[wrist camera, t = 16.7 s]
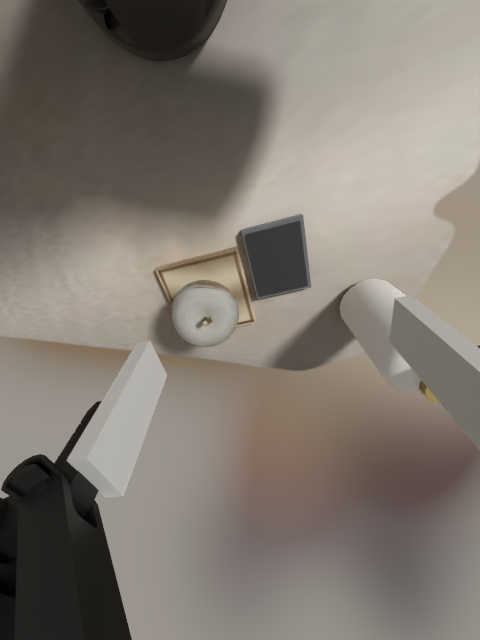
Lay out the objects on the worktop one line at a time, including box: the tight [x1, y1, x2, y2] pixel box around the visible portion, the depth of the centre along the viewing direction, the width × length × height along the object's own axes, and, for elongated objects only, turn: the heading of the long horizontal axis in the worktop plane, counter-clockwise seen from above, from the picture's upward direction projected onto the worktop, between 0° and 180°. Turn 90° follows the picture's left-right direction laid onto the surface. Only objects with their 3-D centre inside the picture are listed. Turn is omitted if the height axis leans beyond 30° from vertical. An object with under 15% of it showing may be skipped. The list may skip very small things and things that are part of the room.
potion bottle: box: [340, 279, 440, 403], centre depth 31 cm, size 8×8×18 cm
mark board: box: [155, 246, 256, 327], centre depth 38 cm, size 12×12×1 cm
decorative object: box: [170, 280, 239, 347], centre depth 33 cm, size 9×9×10 cm
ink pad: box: [241, 214, 311, 299], centre depth 34 cm, size 10×8×2 cm
